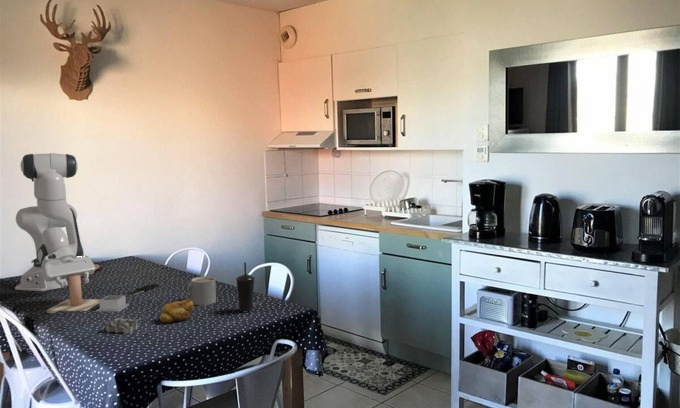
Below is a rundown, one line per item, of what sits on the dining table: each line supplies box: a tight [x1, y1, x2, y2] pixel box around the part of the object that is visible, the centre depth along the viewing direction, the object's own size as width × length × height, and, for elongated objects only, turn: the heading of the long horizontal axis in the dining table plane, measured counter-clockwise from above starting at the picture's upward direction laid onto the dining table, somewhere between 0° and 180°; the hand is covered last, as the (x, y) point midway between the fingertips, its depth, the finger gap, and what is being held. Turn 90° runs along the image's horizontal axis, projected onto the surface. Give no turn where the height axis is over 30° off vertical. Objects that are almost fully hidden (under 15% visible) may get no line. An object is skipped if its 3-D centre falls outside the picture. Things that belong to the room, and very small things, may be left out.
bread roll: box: [159, 298, 194, 324], centre depth 214 cm, size 13×10×8 cm
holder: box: [95, 295, 131, 312], centre depth 227 cm, size 10×10×5 cm
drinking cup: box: [235, 262, 256, 311], centre depth 224 cm, size 8×8×20 cm
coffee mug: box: [188, 276, 217, 307], centre depth 238 cm, size 13×10×10 cm
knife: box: [126, 283, 160, 296], centre depth 254 cm, size 25×6×1 cm, turn 154°
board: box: [46, 298, 102, 314], centre depth 231 cm, size 16×16×1 cm
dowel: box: [68, 275, 83, 306], centre depth 230 cm, size 4×4×12 cm
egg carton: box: [103, 317, 140, 334], centre depth 203 cm, size 11×8×4 cm
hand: (75, 284), depth 230 cm, fingers open, 8 cm apart
